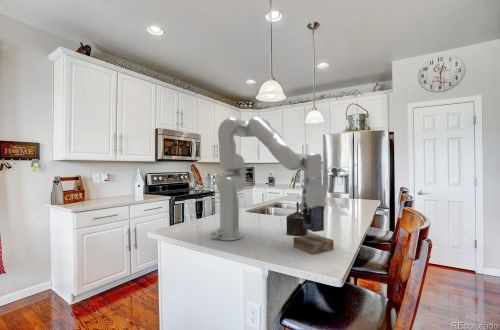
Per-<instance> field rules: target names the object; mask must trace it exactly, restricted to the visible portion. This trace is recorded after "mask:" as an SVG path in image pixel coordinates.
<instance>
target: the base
mask: <svg viewBox="0 0 500 330" xmlns="http://www.w3.org/2000/svg"><path fill="white" fill-rule="evenodd" d="M293 248H297V249H298V250H301V251H304V252H306V253H308V254H311V255H312V256H314V255H317V254H321V253H324V252H329V251H333V250H335V249H334V239H331V238H327V237H325V236H322V235H319V234H317V233H316V234H315V233H310V234H309V233H308V234H307V235H304V236H296V237H295V236H294V237H293Z"/></svg>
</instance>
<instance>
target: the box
mask: <svg viewBox="0 0 500 330" xmlns="http://www.w3.org/2000/svg"><path fill="white" fill-rule="evenodd" d="M307 210H308V209H307ZM309 215H310V218H311V224H306V223H304V214H303V228H306V229H308V231H310V232H312V233H316V232H323V231H324V230H325V224H324V223H325V220H324V219H325V207H324V206H316V207H312V209H310V214H309Z"/></svg>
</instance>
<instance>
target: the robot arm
mask: <svg viewBox="0 0 500 330" xmlns="http://www.w3.org/2000/svg"><path fill="white" fill-rule="evenodd" d="M234 136H236V137H240V138H241V137H242V138H251V137H256V139H257V140H258V141H259V142H261V143H262V145H264V146H265V147H266V148H267V150H268V151H269V152H270V154H272V156H273V157H274V158H275V159H276V160H277V161H278V162H279V163H280V164H281V165H282V166H283V167H284V168H285V169H287V170H289V171H299V170H303V180H302V182H303V186H302V190H301V202H300V203H299V210H300V212H301V213H303V214H304V223H306V224H311V218H310V215H309V214H310V209H312V207H316V206H324V208H326V206H327V201H326V197H325V196H326V194H325V188H324V184H323V181H322V179H323V178H322V175H323V173H322V172H323V171H322V170H323V169H322V166H323V165H322V155H321V154H320V153H316V152H313V153H312V152H311V153H305V154H301V153H296V152H294V150H293V149H292V148H290V147H289V146H288V145H287V144H286V143H285V141H284V140H283V138H282V136H281V134H280V133H279V132H278V131H276V130H275V128H273V127H272V126H271V124H270V122H269V120H267V119H265V118H263V117H260V116H258V115H257V116H253V117H251V118H250V119H249V120H243V119H241V118H238V117H234V116H232V117H227V118H225V119H224V120H223V121H222V122H221V123H220V125H219V127H218V132H217V139H218V140H217V141H218V152H219V153H218V154H219V155H218V159H219V167H220V169H221V170H222V171H223V172H227V173H228V174H224V175H222V176H221V177H220V178H219V180H218V182H217V183H218V184H217V189H218V195H219V227H218V228H217V230H213V231H210V235H211V236H215V237H216V239H218V240H220V241H237V240H240V239H242V238H243V234H242V233H241V232H240V220H239V219H240V210H239V209H240V206H239V205H240V203H239V195H238V193H239V192H241V191H243V190H244V189H245V188H246V184H247V179H246V178H247V176H246V162H245V159H244V158H243V156H242V155H240V154H239V153H237V149H236V148H237V145H236V141H235V140H236V139H235V138H234ZM307 209H308V210H307Z"/></svg>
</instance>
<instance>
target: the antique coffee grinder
mask: <svg viewBox="0 0 500 330" xmlns="http://www.w3.org/2000/svg"><path fill="white" fill-rule="evenodd" d="M299 205H300V202H298V201H296V205H295V206H296V211H295V212H292V213H289V214H288V215H287V216H286V217H285V218H286V235H287V236H294V237H295V236H296V237H299V236H304V235H309V230H308V229H306V228H303V212H302V211H299V210H300V208H299Z"/></svg>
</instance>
